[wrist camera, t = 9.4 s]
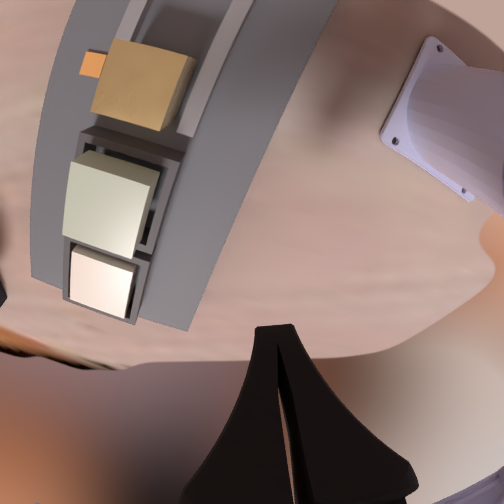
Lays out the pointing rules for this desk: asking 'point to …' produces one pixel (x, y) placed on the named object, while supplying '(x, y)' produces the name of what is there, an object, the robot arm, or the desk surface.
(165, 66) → the slider knob
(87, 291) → the button cream
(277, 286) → the desk surface
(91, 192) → the button sage
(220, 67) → the control panel
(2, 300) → the watch
